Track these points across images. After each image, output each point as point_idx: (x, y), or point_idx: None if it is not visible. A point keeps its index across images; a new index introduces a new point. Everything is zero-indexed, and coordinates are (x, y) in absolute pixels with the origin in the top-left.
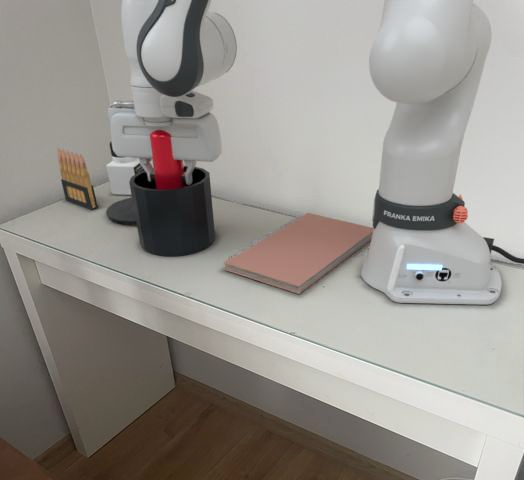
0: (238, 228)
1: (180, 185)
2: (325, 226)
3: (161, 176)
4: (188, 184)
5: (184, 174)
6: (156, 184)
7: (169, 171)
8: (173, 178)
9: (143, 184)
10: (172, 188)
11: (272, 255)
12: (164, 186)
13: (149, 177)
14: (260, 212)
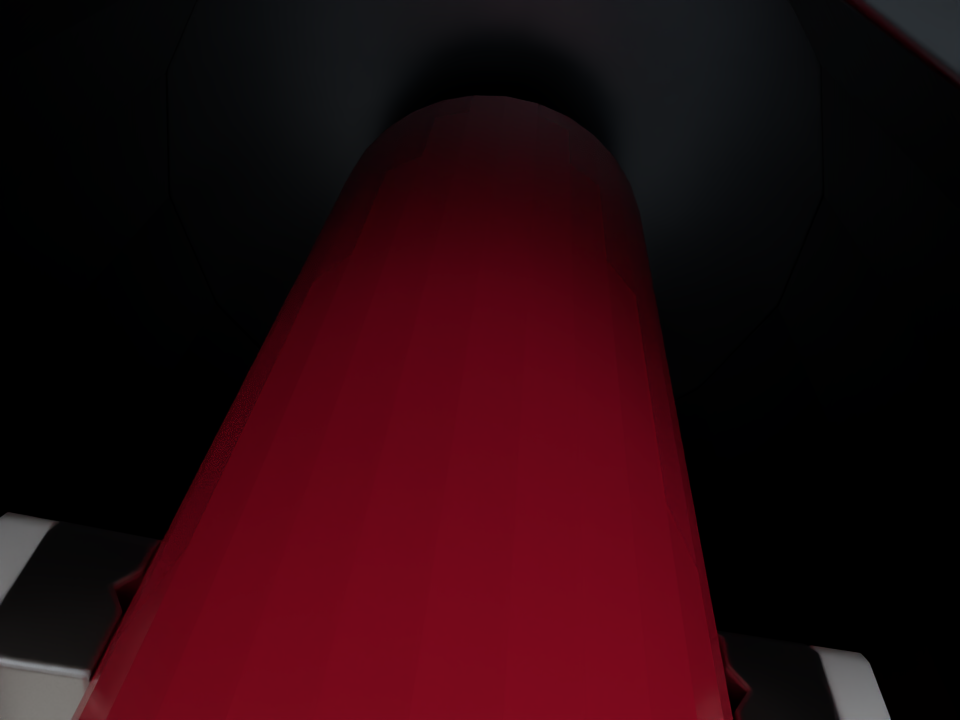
0: None
1: (184, 501)
2: None
3: (497, 595)
4: (20, 514)
5: (26, 712)
6: (677, 530)
7: (215, 701)
8: (209, 561)
9: (951, 702)
10: (315, 405)
11: None
12: (466, 417)
13: (856, 715)
14: None
